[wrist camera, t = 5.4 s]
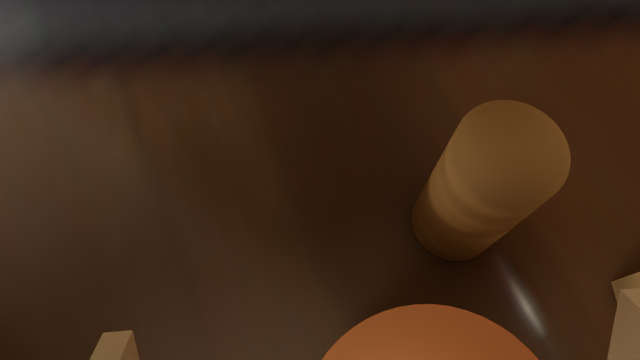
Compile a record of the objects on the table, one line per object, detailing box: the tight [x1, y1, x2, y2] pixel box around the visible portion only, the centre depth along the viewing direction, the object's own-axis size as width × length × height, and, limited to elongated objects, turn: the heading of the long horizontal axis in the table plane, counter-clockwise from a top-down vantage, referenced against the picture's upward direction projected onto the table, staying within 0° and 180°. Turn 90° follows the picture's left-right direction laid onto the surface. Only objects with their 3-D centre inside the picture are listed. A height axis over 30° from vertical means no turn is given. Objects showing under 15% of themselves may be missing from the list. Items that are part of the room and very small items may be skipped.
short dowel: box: [412, 100, 571, 261], centre depth 19 cm, size 4×4×7 cm
